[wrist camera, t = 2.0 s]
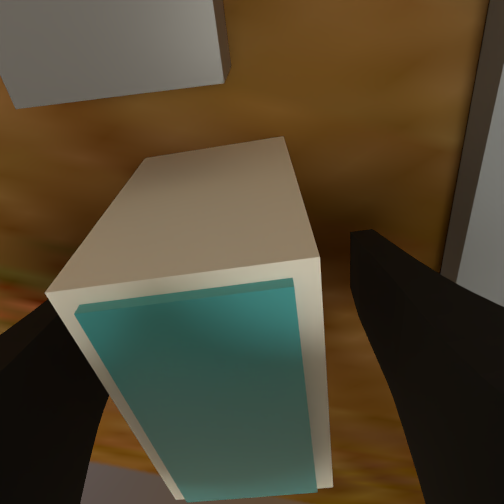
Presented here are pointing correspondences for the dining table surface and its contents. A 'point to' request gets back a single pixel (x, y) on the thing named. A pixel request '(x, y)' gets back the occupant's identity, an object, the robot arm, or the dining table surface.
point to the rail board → (481, 177)
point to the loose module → (209, 321)
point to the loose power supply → (109, 48)
